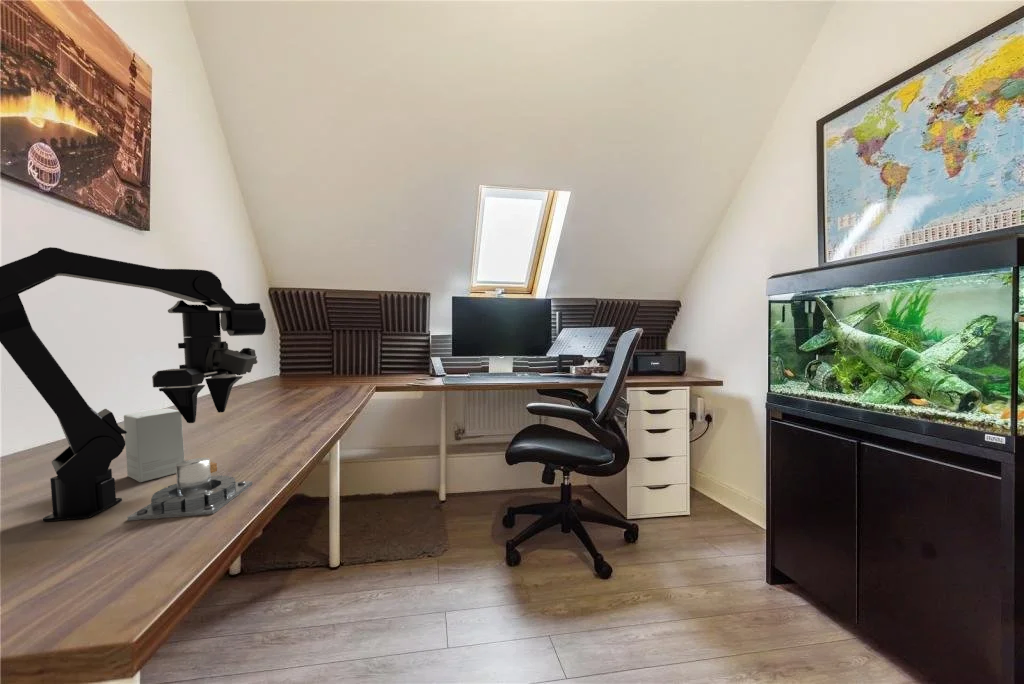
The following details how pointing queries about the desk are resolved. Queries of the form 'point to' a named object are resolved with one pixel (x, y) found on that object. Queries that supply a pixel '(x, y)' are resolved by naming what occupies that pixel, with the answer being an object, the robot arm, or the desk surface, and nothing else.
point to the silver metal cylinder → (194, 476)
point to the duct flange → (191, 500)
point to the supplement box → (153, 443)
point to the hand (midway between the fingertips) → (207, 417)
